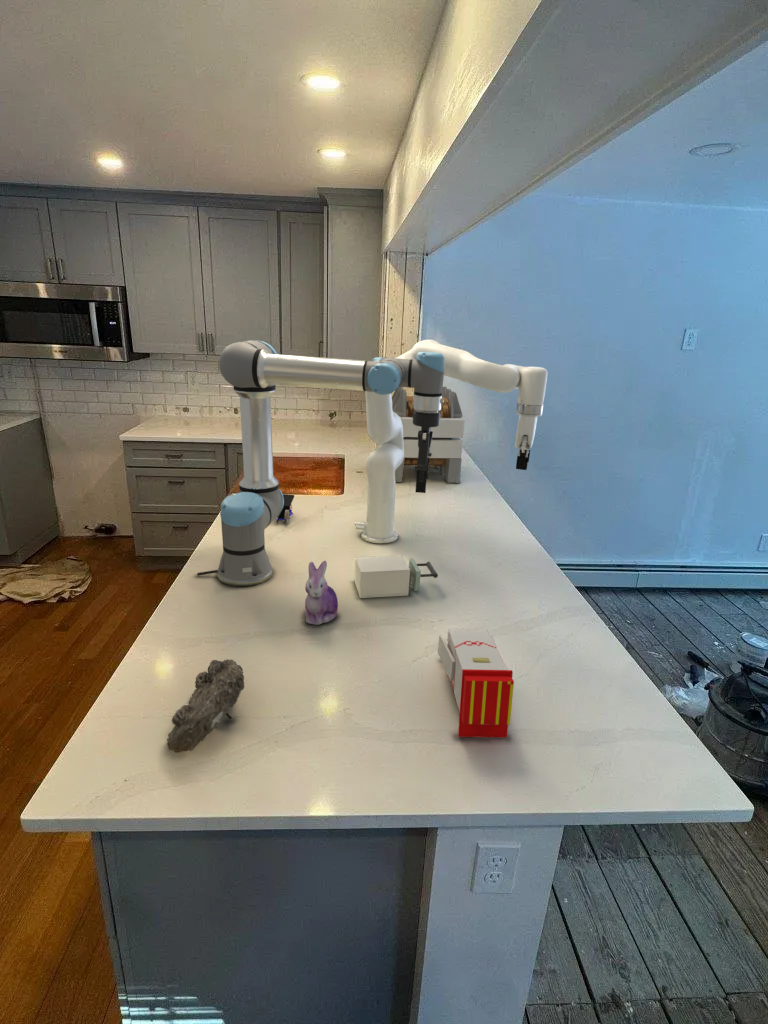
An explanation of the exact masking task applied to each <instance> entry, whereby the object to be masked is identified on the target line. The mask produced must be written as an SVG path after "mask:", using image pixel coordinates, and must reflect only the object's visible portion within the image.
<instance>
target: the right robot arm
mask: <svg viewBox="0 0 768 1024" xmlns="http://www.w3.org/2000/svg"><path fill="white" fill-rule="evenodd" d="M418 352H437V353H441V354H443V356H444V377H445V376H446V377H448V378H452V379H456V380H458V381H461V382H464V383H467V384H470V385H473V386H475V387H479V388H482V389H485V390H489V391H493V392H495V393H500V394H501V393H502V394H507V393H510V392H512V391H514V390H518V395H517V404H516V412H515V414H516V415H518V422H517V427H516V435H515V436H516V437H515V444H514V448H515V449H517V448H518V454H517V456H516V463H515V470H522V471H527V470H528V465H529V462H530V456H531V449H532V447H533V444H534V440H535V436H536V430H537V425H538V424H537V423H538V418H539V417H542V416H543V410H544V402H545V395H546V389H547V381H548V375H549V374H548V370H547V369H546V368H545V367H541V366H522V365H517V364H513V363H506V364H498V363H495V362H491V361H487V360H485V359H481V358H479V357H476V356H475V355H474V354H472V353H471V352H469V351H467V350H464V349H460V348H457V347H452V346H448V345H444V344H441V343H439V342H438V341H437V340H435V339H423V340H419V341H418V342H416V343H415V344H414V345H413V347H412V348H411V349H409V350H408V351H406V352H404V353H402V354H401V355H399V356H397V357H396V358H400V359H416V357H417V353H418ZM364 397H365V413H366V431H367V436H368V438H369V440H370V441H371V442H372V443H374V444H376V448H375V449H373V450H372V451H371V452H370V453H369V455H368V457H367V458H366V463H365V464H366V467H365V470H366V480H367V483H366V519H365V520H366V521H364V522H362V521H355V522H354V527H355V529H356V530H361V534H360V535H361V538H362V539H363V540H364V541H366V542H368V543H373V544H389V543H393V542H395V541H397V540H398V537H399V534H398V532H397V531H396V530H395V528H394V527H395V510H396V509H395V508H396V507H395V506H396V491H397V490H396V489H397V487H396V485H397V484H396V483H397V482H395V470H396V469H397V468H398V467H399V466H400V465H401V463H402V462H403V459H404V442H403V426H402V422H401V419H400V417H399V416H398V415H397V414H396V413H395V412H393V410H392V393H390V394H386V395H380V394H377V393H375V392H368V391H364Z"/></svg>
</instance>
